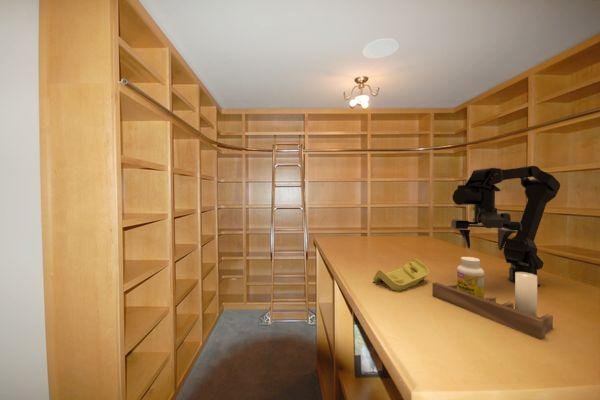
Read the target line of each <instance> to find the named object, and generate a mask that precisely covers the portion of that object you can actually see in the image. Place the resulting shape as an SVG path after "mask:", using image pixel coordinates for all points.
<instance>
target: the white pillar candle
mask: <svg viewBox="0 0 600 400" xmlns="http://www.w3.org/2000/svg"><path fill="white" fill-rule="evenodd" d="M537 283H538V274H537V275H534V274H531V273H526V272H515V282H514V285H515V286H514V290H515V291H514V293H515V295H514V309H516V310H519V311H522V312H525V313H528V314H531V315H534V316H537V317H538V286H537Z"/></svg>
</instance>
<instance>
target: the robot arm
mask: <svg viewBox="0 0 600 400" xmlns="http://www.w3.org/2000/svg"><path fill="white" fill-rule="evenodd" d="M529 178H532V179H529ZM533 178H534V179H533ZM514 179H519V180H520V185H521V186H522V187H523V188H524V194H525V195H524V196H525V197H526V199H527V202H526V205H525V208H524V210H523V213H522V216H521V219H520V221H516V220H512V219H511V214H510V213H508V212H506V213H505V212H504V213H503V212H501V213H498V209H497V207H496V192H501V189H500V188H499V187H498V186H497V184H500V183H502V182H503V181H506V180H514ZM560 188H561V183H560V182H559V181H558V179H556V177H555V176H553V175H552V174H550V173H548V172H547V171H546V172H545V171H543V170H541V168H539V167H538V166H536V165H526V166H525V165H524V166H521V167H516V168H514V167H513V168H505V169H502V168H497V167H488V168H487V167H486V168H481V169H479V168H478V169H475V170H473V171H472V172H471V175H470V177H469V178H468V179H467V181H466V183H465V184H459V185H457V189H455V190H454V191H453V193H452V201H453V202H454V204H456V205H458V206H470V205H471V206H473V207H472V209H473V216H474V218H473V217H472V221H469V220H467V219H459V218H457V219H456V218H453V219H452V220H451V221H450V222H451V223H450V224H451V227H452V228H454V229H455V230H457V231H459V233H460V234H461V236H462V239H463V240H464V243H465V245H466V248H467V249H471V239H470V233H471V230H470V229H469V228H470V227H471V228H474V227H475V228H486V229H497V246H498V247H497V248H498V250H499V251H502V250H503V253H502V254H503V255H504V258H505V262H506V264H510V267H509V269H508V270H509V271H508V275H509V276H508V279H509V280H510V281H512V282H514V283H515V272H526V273H531V274H534V275H537V276H538V271H539V270H542V269H543V267H544V264H545V262H544V261H543V260H542V259H541V258H540V257H539V255H538V248H537V245H536V242H535V239H536V235H537V233H538V230H539V227H540V224H541V221H542V218H543V215H544V211H545V209H546V206H547V204H548V203H549V202H551V201H552V200H554V199H555V198H556V196H557V194H558V192H559V191H560ZM513 234H515V236H513V237H511V238H509V237H510V236H511V235H513ZM540 286H541V284H540V283H538V282H537V287H540Z"/></svg>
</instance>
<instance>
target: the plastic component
mask: <svg viewBox="0 0 600 400" xmlns="http://www.w3.org/2000/svg"><path fill="white" fill-rule="evenodd" d="M429 273H430V270H429V268H428V266H427V265H425V263H423V262H422V261H421V260H419V259H418V258H416V257H415V258H411V259H410V260H409V261H408V262H407V263H405V264H403V266H402V267H400V268H397V269H394V270H392V271H389V272H385V271H384V270H382V269H378V270H377V272H376V273H375V275H374V277H373V278H372V280H373V281H374V282H375V283H380V282H382V281H383V282H384V283H385V284H386V285H387V286H388V287H389V288H390V289H391V290H393V291H396V292H401V291H404V290H406V289H408V288H411V287H414V286H415V285H418V284H419V283H420V282H421V281H422V280H424V279H425V278H427V276H428V275H429Z"/></svg>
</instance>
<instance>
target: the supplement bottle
mask: <svg viewBox="0 0 600 400" xmlns="http://www.w3.org/2000/svg"><path fill="white" fill-rule="evenodd" d="M460 262H461V264H460V265H458V266H457V268H456V272H457V273H456V280H457V281H456V284H457V289H458V290H461V291H463V292H466V293H469V294H472V295H475V296H478V297H481V298H485V271H484V269H483V268H482V267H480V264H481V259H479V258H477V257H472V256H461V257H460Z"/></svg>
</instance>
